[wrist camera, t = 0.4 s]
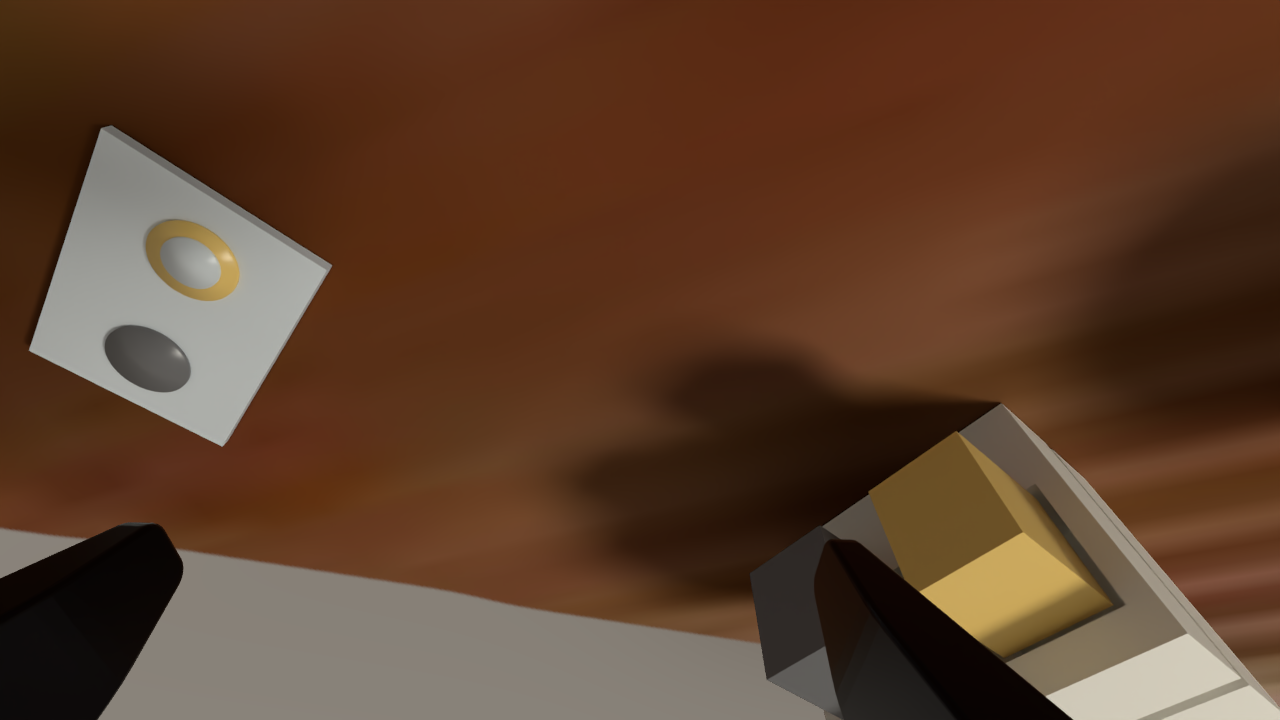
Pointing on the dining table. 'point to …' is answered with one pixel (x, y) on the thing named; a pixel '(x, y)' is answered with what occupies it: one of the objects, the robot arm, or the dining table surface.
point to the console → (1116, 637)
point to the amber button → (983, 548)
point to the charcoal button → (794, 622)
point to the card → (171, 291)
